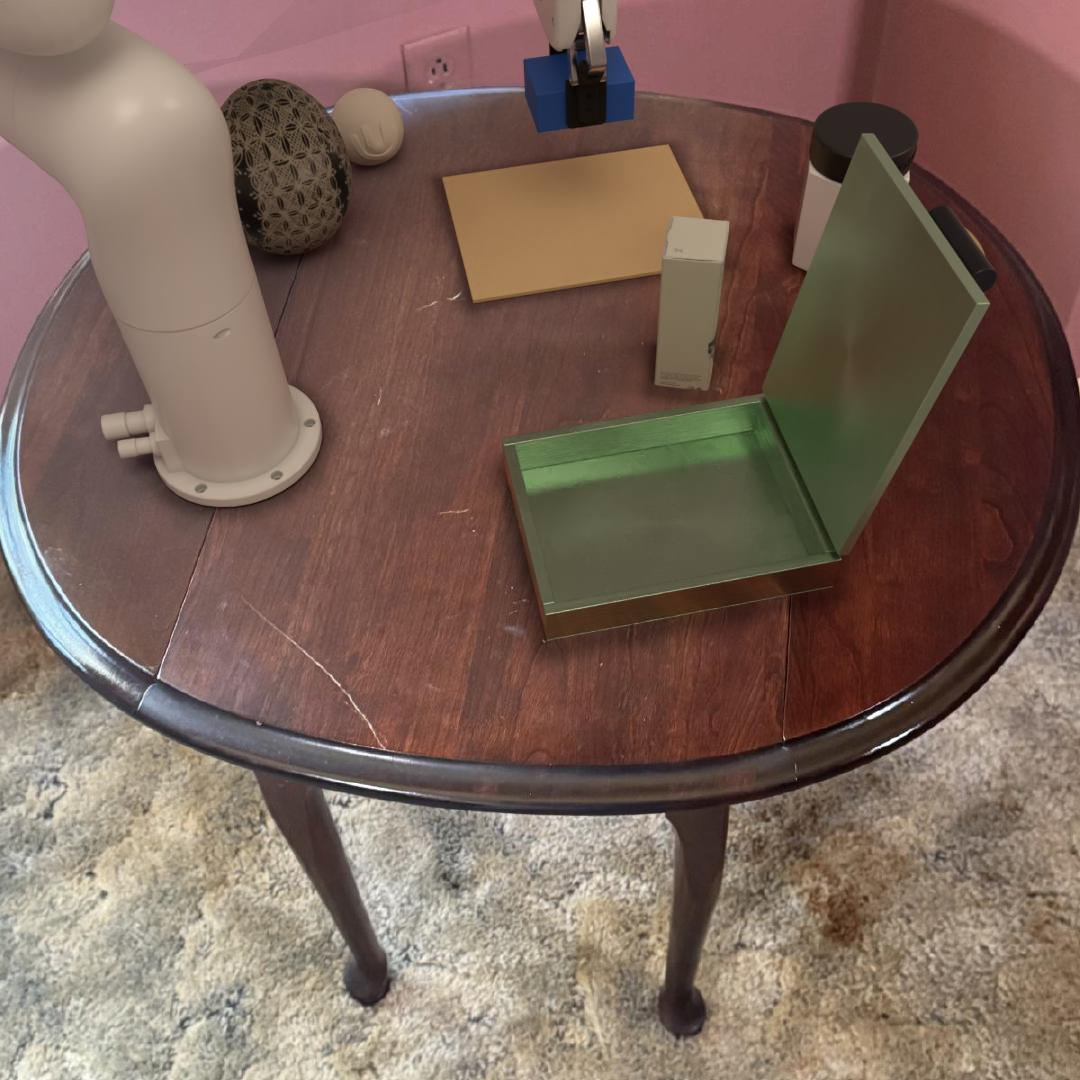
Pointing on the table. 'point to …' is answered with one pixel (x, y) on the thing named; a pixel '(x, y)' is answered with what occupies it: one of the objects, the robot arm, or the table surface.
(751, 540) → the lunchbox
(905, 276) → the lunchbox lid
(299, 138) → the decorative egg
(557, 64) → the block
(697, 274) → the box
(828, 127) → the jar
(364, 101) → the cream embossed ball
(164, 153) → the robot arm
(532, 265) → the placemat
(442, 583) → the table surface
